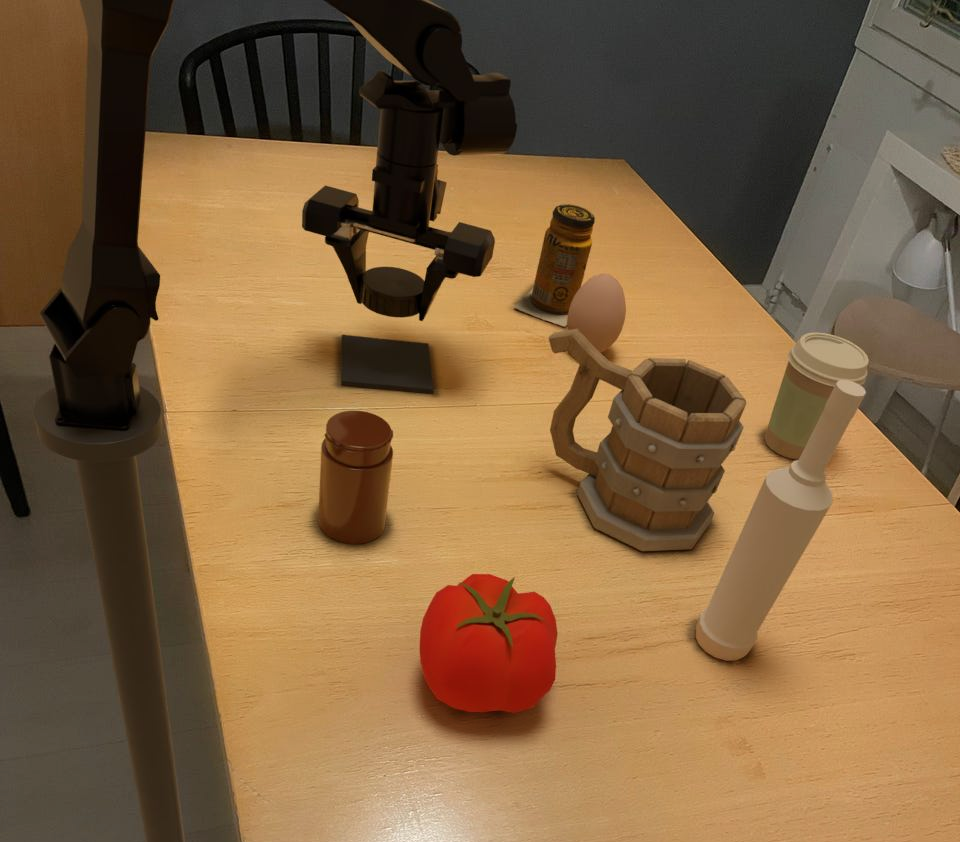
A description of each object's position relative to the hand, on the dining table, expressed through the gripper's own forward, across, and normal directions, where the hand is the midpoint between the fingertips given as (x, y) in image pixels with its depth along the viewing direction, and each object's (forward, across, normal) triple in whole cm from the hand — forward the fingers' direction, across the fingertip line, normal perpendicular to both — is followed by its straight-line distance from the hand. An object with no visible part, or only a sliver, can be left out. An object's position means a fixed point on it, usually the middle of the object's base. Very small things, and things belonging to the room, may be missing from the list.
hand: (391, 310), depth 97 cm
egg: (+7, -21, -16) cm, 27 cm away
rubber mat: (+7, 0, 0) cm, 7 cm away
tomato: (+7, -22, +42) cm, 48 cm away
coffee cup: (+7, -46, -7) cm, 47 cm away
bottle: (+7, -40, +29) cm, 50 cm away
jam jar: (+7, -6, +28) cm, 29 cm away
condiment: (+7, -14, -25) cm, 30 cm away
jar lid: (-3, 0, 0) cm, 3 cm away
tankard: (+7, -28, +12) cm, 31 cm away
